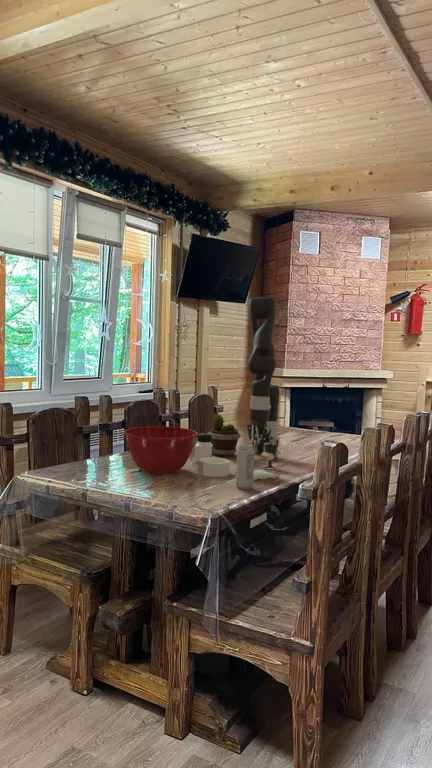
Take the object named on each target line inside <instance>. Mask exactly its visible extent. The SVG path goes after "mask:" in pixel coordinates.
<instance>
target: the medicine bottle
mask: <svg viewBox="0 0 432 768" xmlns="http://www.w3.org/2000/svg"><path fill="white" fill-rule="evenodd" d="M211 439H212V436H211V435H210V434H208V433H198V435H197V437H196V441H197V442H196V444H195V446H194V448H195V450H194V463H196V464H198V460H199V459H201V458H210V457H213V454H212V449H213V445H212V444H211Z"/></svg>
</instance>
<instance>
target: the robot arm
mask: <svg viewBox="0 0 432 768" xmlns="http://www.w3.org/2000/svg"><path fill="white" fill-rule="evenodd" d="M276 306H277V304H276V300H275V298H274V297H273V296H263V297H256V296H255V297H251V298H249V302H248V313H249V321H250V327H251V329H250V330H251V339H252V340H251V343H252V353H251V355H250V357H249V359H248V363H247V368H248V369H247V370H248V372H250V374H252V375H254V381H252V382H251V393H250V402H249V421H251V422H250V423H251V424H247V425H246V428H247V433H248V434H247V435H248V439H249V440H250V441H251V443H252V444H251V445H253V448H254V440H255V439H258V451H257V453H259V454H262V453H263V452H265V446H264V444H265V443H267V442H268V439H269V438H270V436H272V437H273V438H274V439H275V440H276V441H277V440H278V441H279V437H278V435H277V433H278V416H279V404H280V388H279V386H278V385H275V384H272V379H273V376H274V373H275V370H276V367H277V362H276V361H277V360H275V349H274V344H273V343H272V339H273V331H274V325H275V320H276V319H275V318H276V313H277V310H276V309H277V307H276ZM259 320H265V321H264V322H263V324H262V325H260V321H259ZM278 453H279V445H278V446H277V451H276V456H275V457H277V458H278Z"/></svg>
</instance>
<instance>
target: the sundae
mask: <svg viewBox="0 0 432 768" xmlns="http://www.w3.org/2000/svg"><path fill="white" fill-rule="evenodd" d="M264 446H265V452H267V453H271V454H274V458H275V456H276V451H277V446H278V447H279V446H280V444H279V439H278V440H277V441H276V440H275V439H274V438H273V437H272V436H270V438H269V439H268V442H267V443H265V444H264ZM275 459H276V458H275ZM272 463H273V460H268V465H266V466H264V467H265V468H275V467H274V466H273V465H272Z"/></svg>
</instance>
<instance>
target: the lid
mask: <svg viewBox="0 0 432 768" xmlns="http://www.w3.org/2000/svg"><path fill="white" fill-rule="evenodd" d="M254 450H255V453H254V461H262V462H263V461H269V460H272V461H273V460H275V459H274V454H271V453H267V452H263V453H262V454H259V453H257V451H258V439H255V440H254Z"/></svg>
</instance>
